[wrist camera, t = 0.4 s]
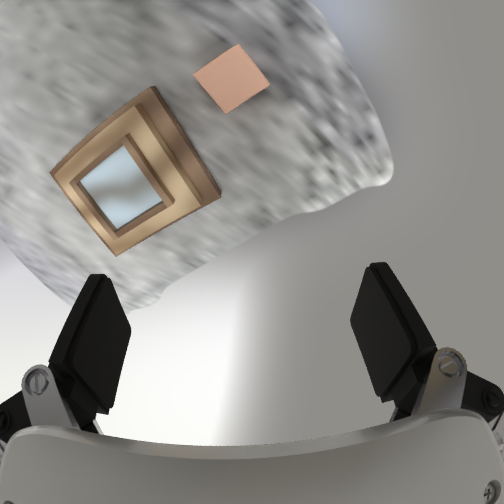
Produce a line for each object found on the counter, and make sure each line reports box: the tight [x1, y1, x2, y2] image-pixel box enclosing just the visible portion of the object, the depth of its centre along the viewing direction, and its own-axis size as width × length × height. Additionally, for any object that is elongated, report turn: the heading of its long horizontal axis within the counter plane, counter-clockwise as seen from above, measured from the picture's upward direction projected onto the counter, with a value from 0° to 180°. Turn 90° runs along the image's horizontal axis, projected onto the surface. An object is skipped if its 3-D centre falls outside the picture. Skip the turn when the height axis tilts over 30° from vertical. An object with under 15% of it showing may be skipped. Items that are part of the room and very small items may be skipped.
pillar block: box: [193, 44, 270, 114], centre depth 24 cm, size 5×5×7 cm
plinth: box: [49, 86, 221, 257], centre depth 31 cm, size 16×18×5 cm
